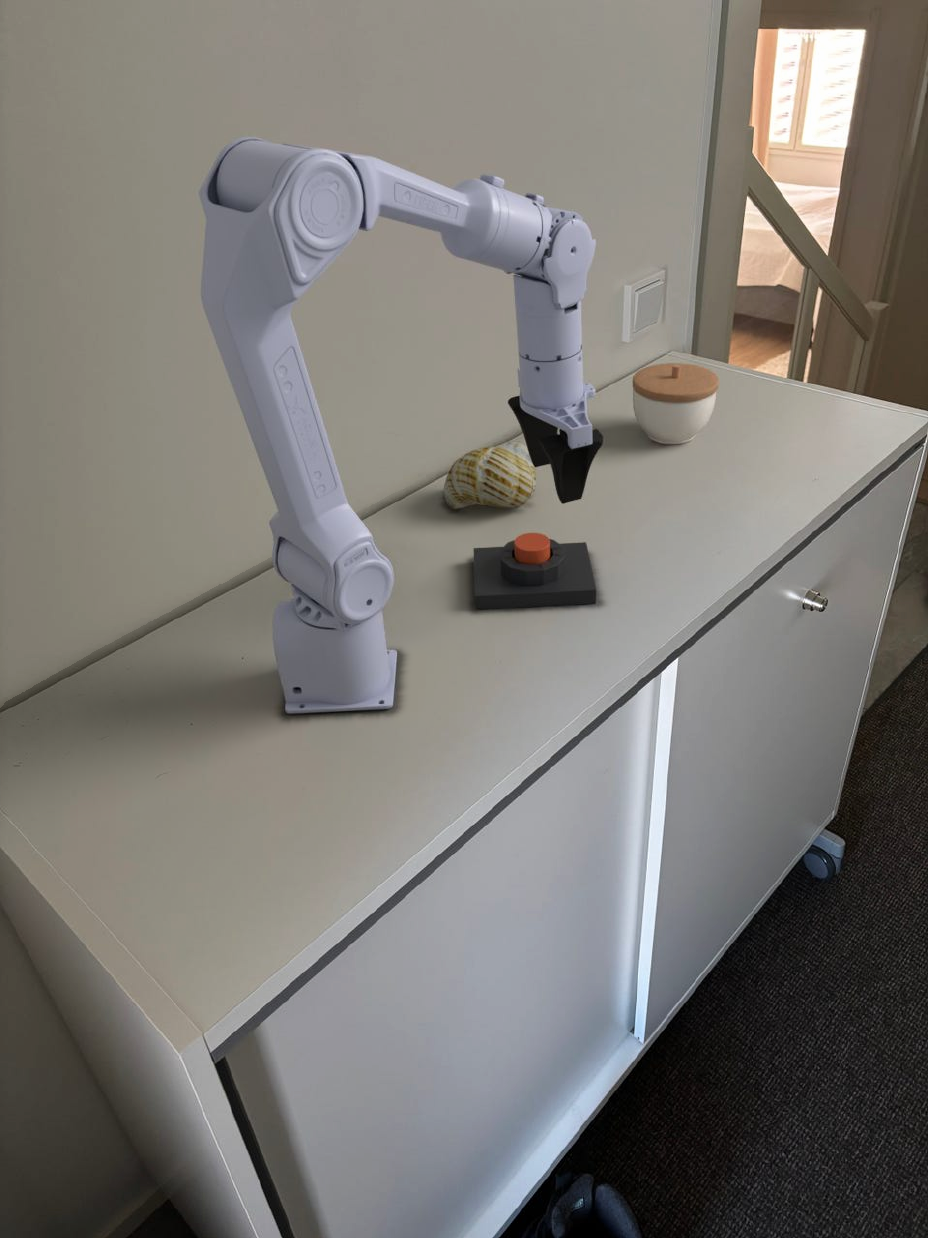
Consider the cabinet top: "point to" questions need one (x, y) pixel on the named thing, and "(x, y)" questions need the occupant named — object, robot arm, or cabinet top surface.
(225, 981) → the cabinet top surface
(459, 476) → the seashell
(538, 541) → the switch button
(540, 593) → the switch plate
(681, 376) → the trinket box
